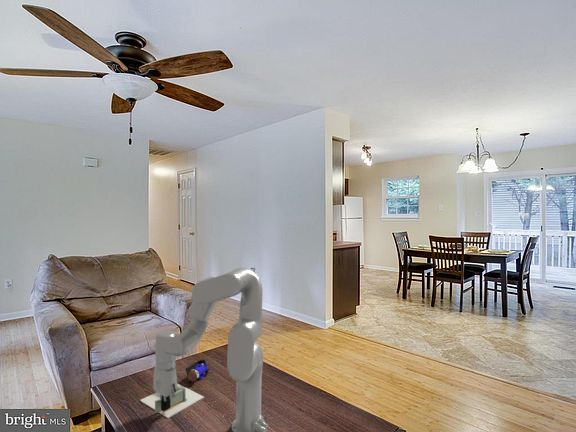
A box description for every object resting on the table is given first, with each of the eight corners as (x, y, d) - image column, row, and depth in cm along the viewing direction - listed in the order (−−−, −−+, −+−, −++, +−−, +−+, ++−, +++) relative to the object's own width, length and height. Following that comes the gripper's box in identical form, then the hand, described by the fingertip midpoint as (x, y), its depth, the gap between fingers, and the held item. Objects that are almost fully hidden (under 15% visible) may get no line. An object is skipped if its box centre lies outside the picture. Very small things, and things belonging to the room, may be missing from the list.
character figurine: (213, 373, 166) (193, 387, 152) (202, 369, 169) (181, 383, 155) (214, 358, 166) (194, 371, 152) (203, 354, 169) (182, 367, 155)
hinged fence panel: (184, 398, 142) (184, 387, 141) (186, 399, 140) (186, 389, 140) (154, 411, 132) (154, 400, 132) (156, 413, 130) (156, 402, 130)
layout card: (204, 397, 143) (204, 396, 143) (167, 418, 129) (167, 417, 129) (176, 383, 155) (176, 382, 155) (140, 401, 140) (140, 399, 140)
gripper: (146, 362, 133) (146, 407, 133) (168, 372, 124) (168, 420, 124) (163, 355, 139) (163, 398, 139) (185, 365, 130) (185, 411, 130)
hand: (165, 409), depth 131 cm, fingers closed
